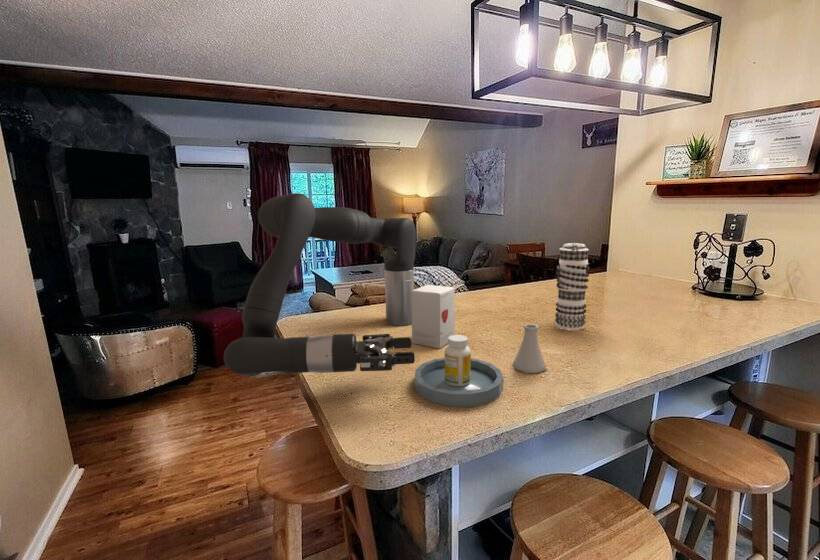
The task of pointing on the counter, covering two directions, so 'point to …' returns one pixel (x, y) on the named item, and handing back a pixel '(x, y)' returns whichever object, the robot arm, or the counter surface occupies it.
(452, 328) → the supplement box
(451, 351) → the supplement bottle
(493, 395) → the dish
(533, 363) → the flask
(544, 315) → the counter surface
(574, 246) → the decorative candle
